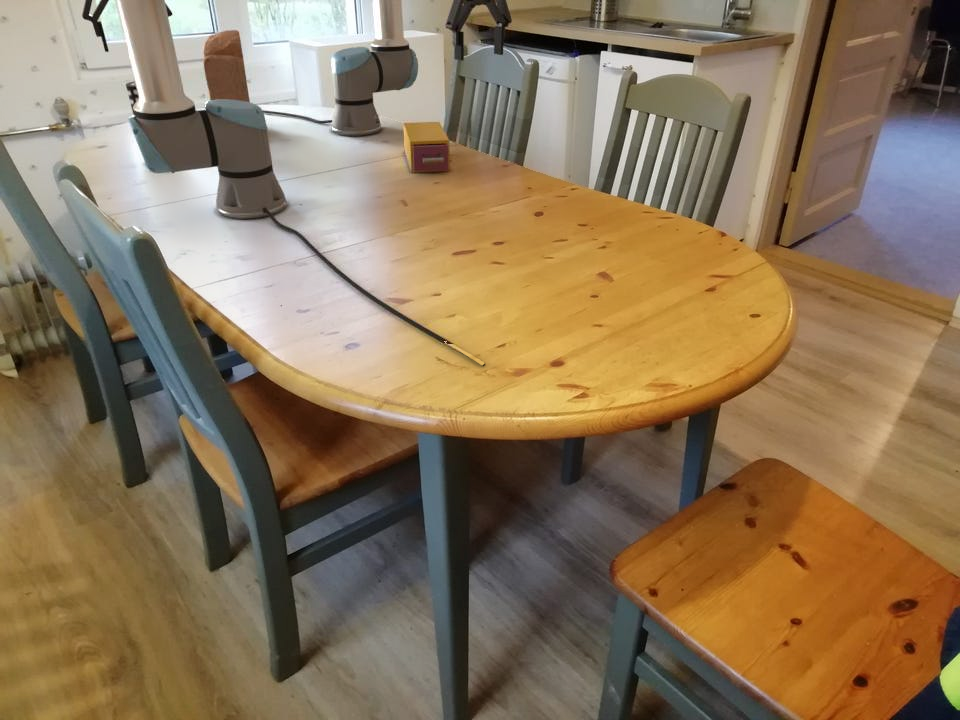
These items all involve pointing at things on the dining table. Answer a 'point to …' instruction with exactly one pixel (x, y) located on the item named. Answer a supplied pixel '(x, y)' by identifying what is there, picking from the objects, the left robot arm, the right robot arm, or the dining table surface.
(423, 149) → the drawer
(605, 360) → the dining table surface
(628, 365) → the dining table surface
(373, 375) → the dining table surface
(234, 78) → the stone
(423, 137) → the cabinet
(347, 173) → the dining table surface
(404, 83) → the right robot arm
